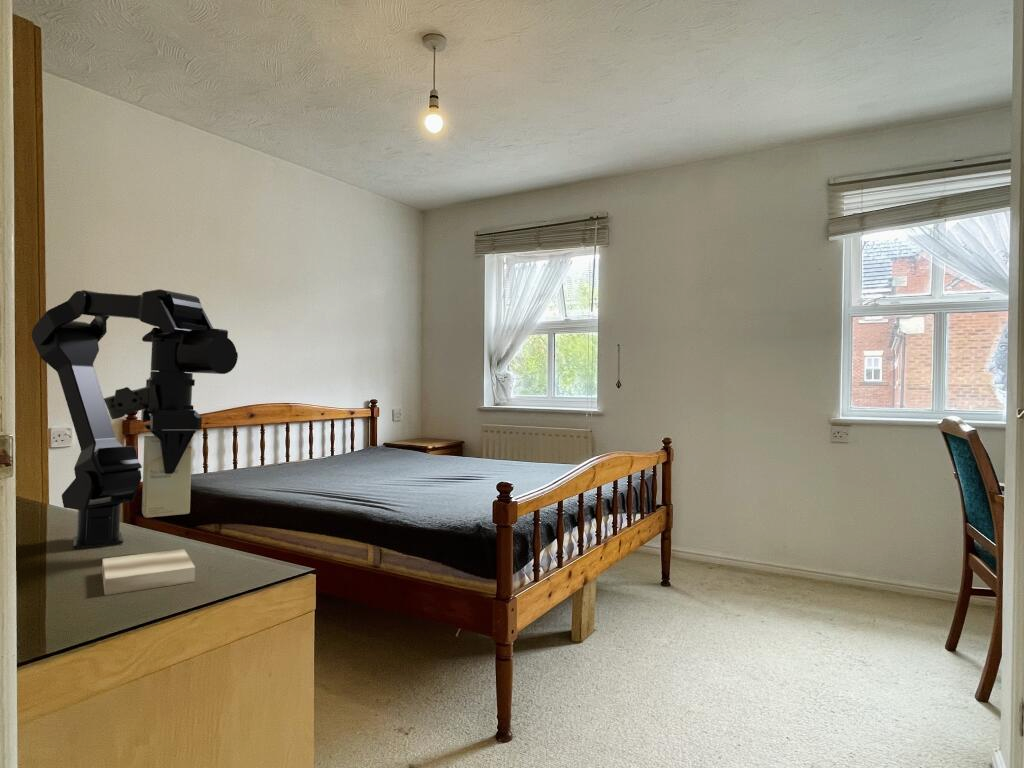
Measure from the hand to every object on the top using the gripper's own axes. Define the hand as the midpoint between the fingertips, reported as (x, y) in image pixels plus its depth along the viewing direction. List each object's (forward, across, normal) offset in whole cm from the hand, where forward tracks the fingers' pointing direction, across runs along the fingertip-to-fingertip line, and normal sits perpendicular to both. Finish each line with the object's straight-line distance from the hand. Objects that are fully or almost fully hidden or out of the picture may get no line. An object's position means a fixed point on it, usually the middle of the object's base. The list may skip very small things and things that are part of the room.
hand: (167, 471), depth 90 cm
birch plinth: (+13, +11, -3) cm, 17 cm away
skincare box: (+7, 0, 0) cm, 7 cm away
